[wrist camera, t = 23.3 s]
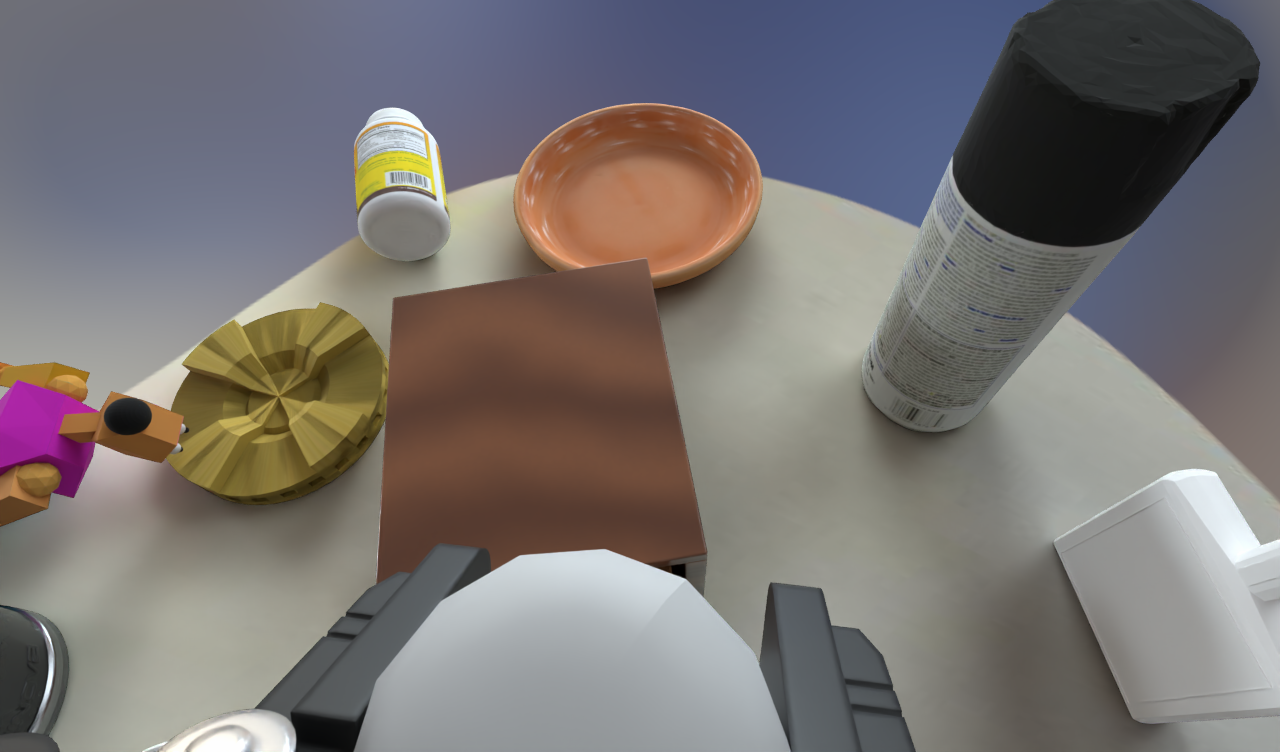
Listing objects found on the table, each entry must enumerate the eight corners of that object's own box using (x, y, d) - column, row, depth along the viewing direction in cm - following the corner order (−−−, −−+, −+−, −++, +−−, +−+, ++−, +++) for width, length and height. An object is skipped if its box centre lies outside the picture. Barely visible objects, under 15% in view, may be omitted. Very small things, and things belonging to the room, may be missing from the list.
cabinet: (702, 608, 30) (708, 553, 22) (459, 649, 30) (372, 610, 22) (656, 366, 37) (647, 256, 29) (458, 398, 37) (392, 297, 29)
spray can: (1010, 407, 35) (1330, 65, 17) (904, 457, 34) (1132, 147, 16) (933, 317, 38) (1138, -48, 21) (833, 360, 37) (961, 14, 20)
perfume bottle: (1047, 538, 31) (1226, 431, 21) (1088, 533, 31) (1288, 423, 21) (1131, 726, 27) (1408, 709, 17) (1179, 719, 27) (1483, 699, 17)
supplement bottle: (405, 277, 43) (397, 177, 48) (469, 236, 42) (453, 136, 47) (335, 232, 39) (334, 126, 44) (404, 183, 37) (395, 80, 42)
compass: (376, 462, 33) (393, 478, 35) (377, 283, 39) (391, 305, 41) (138, 513, 32) (168, 526, 34) (177, 323, 38) (200, 343, 40)
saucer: (810, 222, 42) (817, 188, 39) (613, 355, 38) (607, 325, 35) (659, 107, 49) (657, 72, 47) (480, 208, 45) (467, 175, 43)
